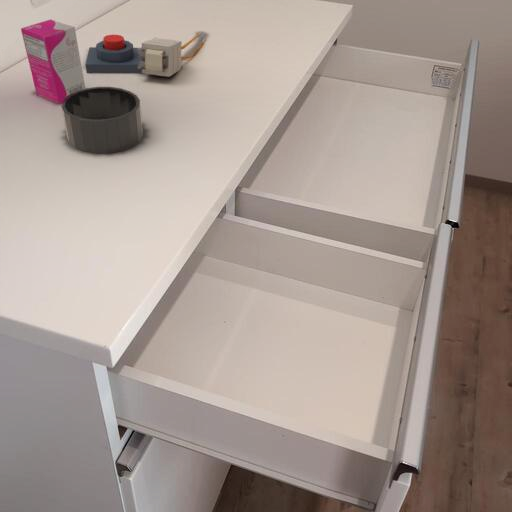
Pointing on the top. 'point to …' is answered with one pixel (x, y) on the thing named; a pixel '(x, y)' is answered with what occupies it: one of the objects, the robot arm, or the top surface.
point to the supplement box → (53, 59)
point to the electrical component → (162, 56)
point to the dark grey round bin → (102, 119)
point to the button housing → (113, 59)
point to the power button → (114, 42)
